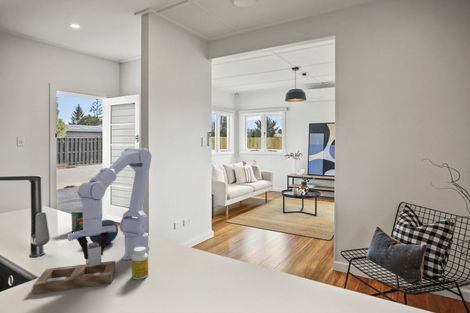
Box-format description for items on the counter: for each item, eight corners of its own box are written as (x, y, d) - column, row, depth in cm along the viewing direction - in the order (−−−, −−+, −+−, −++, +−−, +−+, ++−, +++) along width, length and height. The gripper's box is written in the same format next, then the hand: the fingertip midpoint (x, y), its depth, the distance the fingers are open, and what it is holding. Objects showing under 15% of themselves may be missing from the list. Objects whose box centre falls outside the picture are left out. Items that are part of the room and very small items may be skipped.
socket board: (115, 268, 102) (115, 259, 102) (111, 283, 92) (110, 273, 91) (46, 277, 96) (46, 267, 96) (33, 294, 85) (33, 283, 85)
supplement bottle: (133, 281, 93) (132, 252, 92) (131, 274, 98) (130, 247, 97) (149, 277, 95) (149, 249, 95) (146, 271, 100) (146, 244, 100)
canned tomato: (83, 233, 142) (83, 212, 141) (68, 233, 142) (67, 212, 141) (92, 228, 150) (91, 208, 149) (77, 228, 150) (76, 208, 149)
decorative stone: (98, 239, 133) (97, 218, 133) (122, 239, 133) (122, 218, 132) (84, 248, 121) (83, 226, 121) (111, 248, 121) (110, 226, 120)
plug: (98, 259, 98) (97, 240, 97) (101, 263, 95) (100, 244, 94) (85, 263, 95) (85, 243, 95) (88, 267, 92) (87, 246, 92)
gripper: (111, 211, 102) (112, 247, 102) (65, 218, 92) (67, 258, 93) (117, 215, 96) (118, 253, 97) (69, 223, 87) (71, 265, 88)
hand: (93, 256), depth 95 cm, fingers closed on plug, 4 cm apart
